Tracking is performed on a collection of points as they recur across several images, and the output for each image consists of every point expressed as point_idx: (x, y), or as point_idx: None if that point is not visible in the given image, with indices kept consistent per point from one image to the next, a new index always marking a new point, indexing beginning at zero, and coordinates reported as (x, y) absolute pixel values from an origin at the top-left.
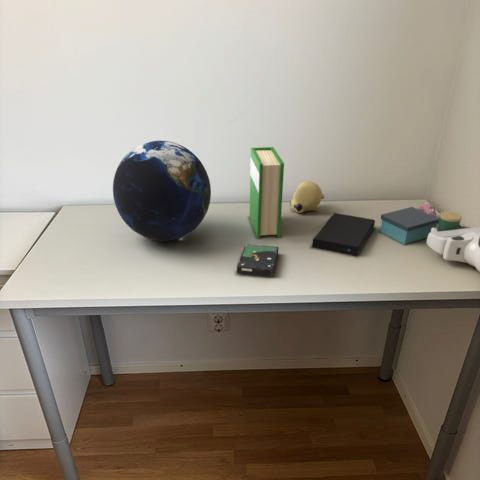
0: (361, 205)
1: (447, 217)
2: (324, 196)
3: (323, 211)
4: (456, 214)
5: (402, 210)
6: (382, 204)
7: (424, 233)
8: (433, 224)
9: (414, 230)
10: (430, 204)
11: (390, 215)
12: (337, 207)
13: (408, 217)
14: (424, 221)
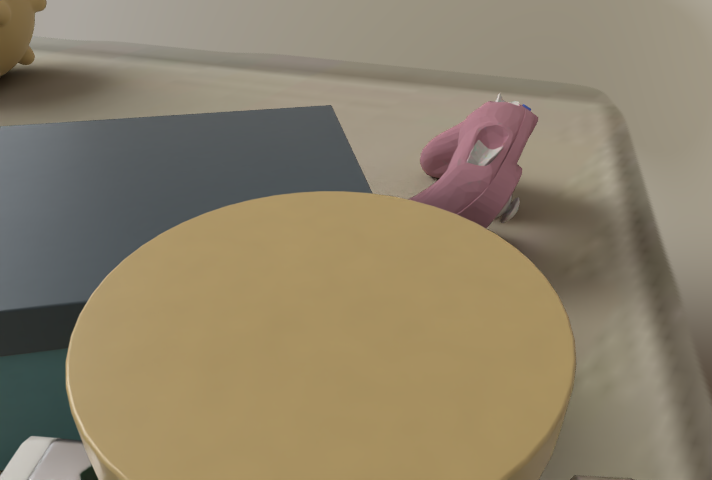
0: (249, 89)
1: (132, 363)
2: (3, 12)
3: (33, 92)
4: (481, 303)
5: (203, 120)
6: (353, 97)
7: None
8: None
9: (3, 362)
10: (509, 108)
11: (19, 145)
12: (129, 84)
13: (116, 187)
14: None
